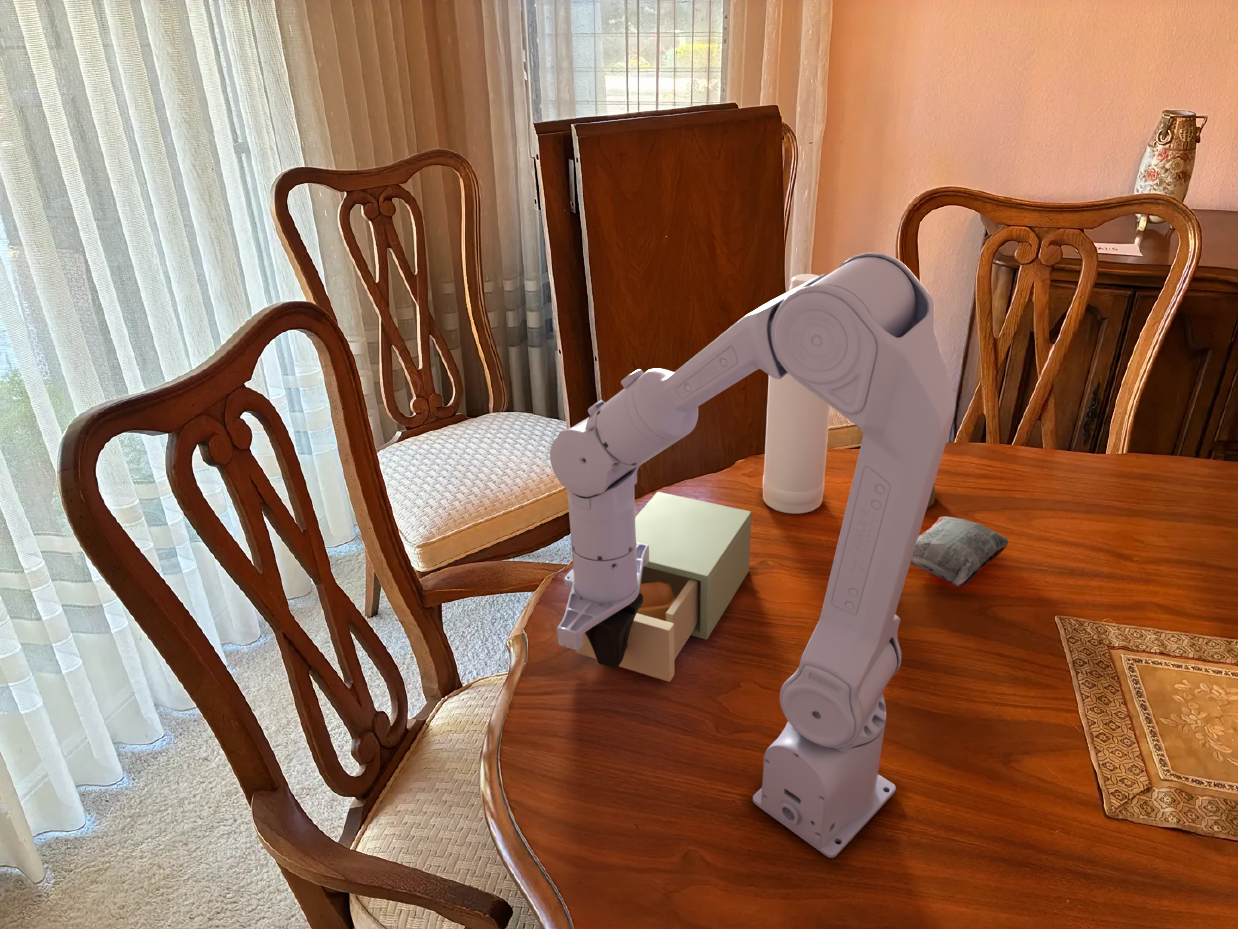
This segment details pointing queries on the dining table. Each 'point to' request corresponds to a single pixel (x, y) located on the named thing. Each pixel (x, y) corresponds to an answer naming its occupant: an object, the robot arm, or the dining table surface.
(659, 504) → the drawer cabinet
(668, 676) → the wooden pull-out drawer
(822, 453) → the bottle
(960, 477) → the dining table surface
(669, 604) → the light brown block
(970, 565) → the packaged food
